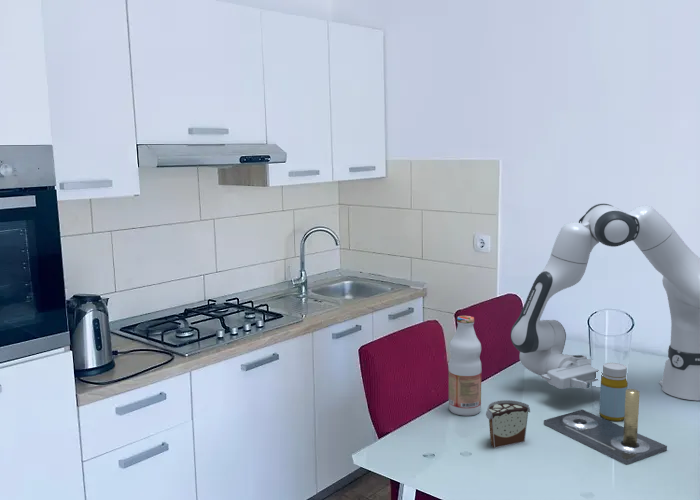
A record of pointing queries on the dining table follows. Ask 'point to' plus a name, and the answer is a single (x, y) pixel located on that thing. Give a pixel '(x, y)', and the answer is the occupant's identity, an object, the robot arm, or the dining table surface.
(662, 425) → the dining table surface
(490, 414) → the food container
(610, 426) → the gauge plate
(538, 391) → the dining table surface
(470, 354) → the fruit juice
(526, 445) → the dining table surface
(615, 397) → the bottle
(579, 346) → the dining table surface
